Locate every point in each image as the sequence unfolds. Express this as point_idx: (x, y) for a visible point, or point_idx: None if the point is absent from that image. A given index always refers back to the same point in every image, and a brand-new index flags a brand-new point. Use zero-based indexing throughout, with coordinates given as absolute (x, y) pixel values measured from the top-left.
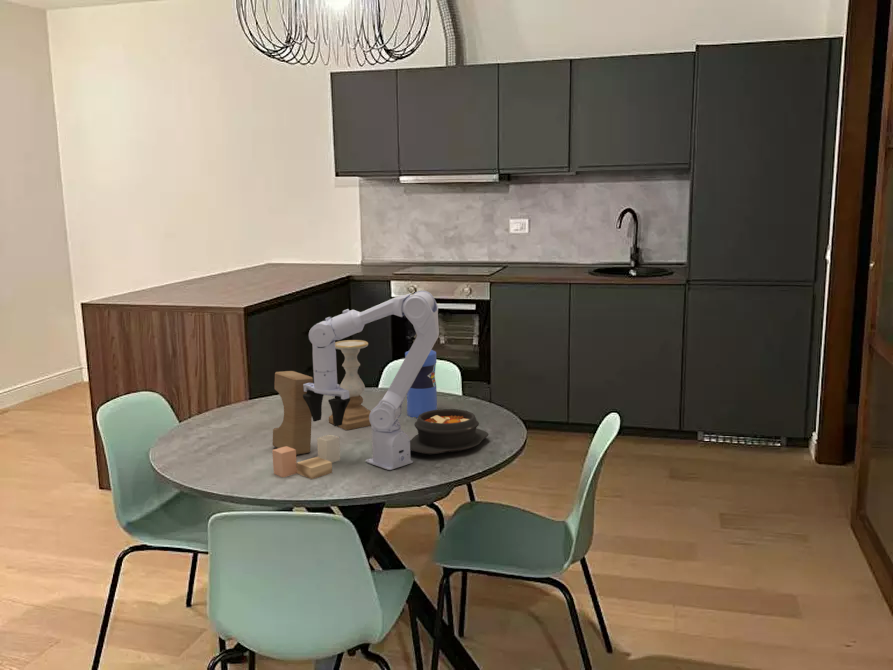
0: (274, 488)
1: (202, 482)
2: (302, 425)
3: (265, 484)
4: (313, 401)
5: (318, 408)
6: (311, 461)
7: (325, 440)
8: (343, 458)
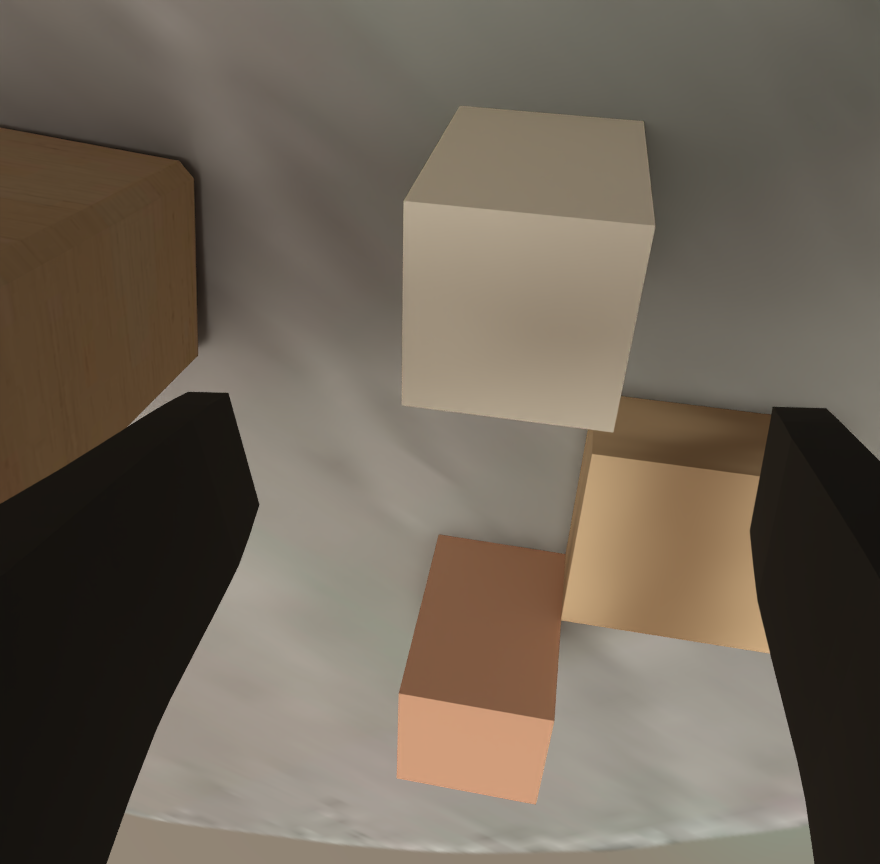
0: (659, 751)
1: (269, 805)
2: (27, 409)
3: (557, 733)
4: (61, 845)
5: (117, 575)
6: (652, 557)
7: (582, 424)
8: (629, 49)
